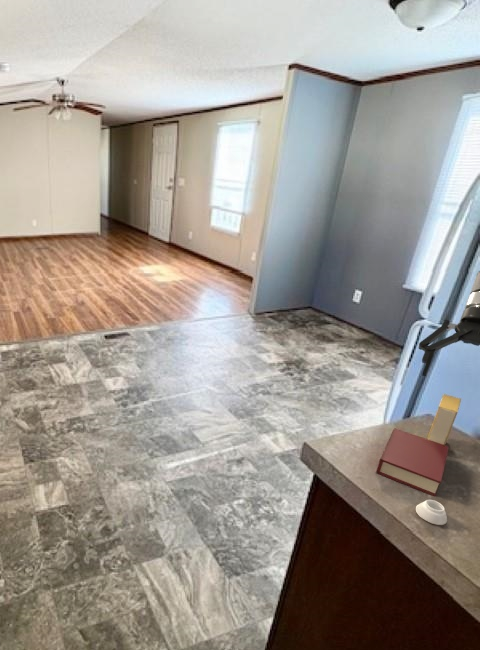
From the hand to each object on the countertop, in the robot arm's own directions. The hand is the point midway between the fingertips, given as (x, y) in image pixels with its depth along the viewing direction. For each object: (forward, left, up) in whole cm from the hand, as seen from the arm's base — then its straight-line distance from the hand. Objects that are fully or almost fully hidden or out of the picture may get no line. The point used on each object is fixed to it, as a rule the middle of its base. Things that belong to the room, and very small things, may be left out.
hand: (456, 382), depth 107 cm
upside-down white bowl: (+18, +35, -14) cm, 41 cm away
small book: (+5, +8, -14) cm, 16 cm away
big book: (+15, +19, -14) cm, 27 cm away
